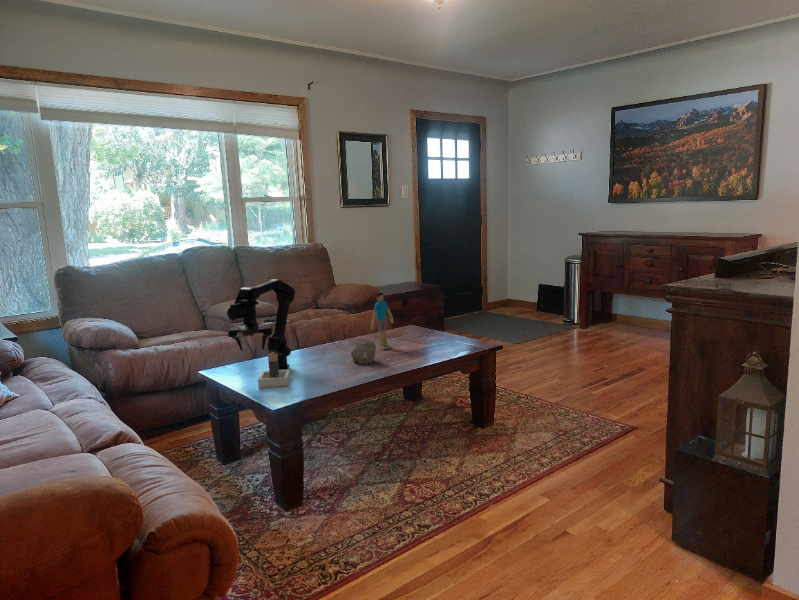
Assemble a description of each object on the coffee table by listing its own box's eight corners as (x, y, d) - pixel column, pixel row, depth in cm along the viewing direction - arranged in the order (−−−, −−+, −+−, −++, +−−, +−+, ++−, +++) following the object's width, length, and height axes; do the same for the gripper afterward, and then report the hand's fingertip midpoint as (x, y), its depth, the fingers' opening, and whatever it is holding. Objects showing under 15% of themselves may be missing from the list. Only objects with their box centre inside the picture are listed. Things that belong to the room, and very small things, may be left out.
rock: (346, 353, 257) (348, 343, 264) (353, 370, 261) (355, 360, 268) (373, 347, 254) (375, 337, 261) (380, 364, 259) (381, 355, 266)
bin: (263, 379, 241) (262, 371, 240) (290, 378, 242) (289, 369, 241) (258, 388, 229) (257, 379, 228) (287, 386, 230) (286, 377, 229)
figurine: (377, 352, 279) (374, 295, 274) (368, 350, 284) (366, 294, 279) (399, 346, 290) (397, 291, 285) (391, 344, 295) (389, 290, 290)
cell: (274, 379, 238) (272, 350, 236) (281, 380, 236) (279, 351, 234) (268, 382, 234) (265, 353, 232) (274, 383, 232) (272, 354, 230)
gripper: (223, 320, 230) (227, 356, 232) (268, 318, 231) (271, 353, 234) (229, 315, 241) (232, 349, 243) (272, 313, 242) (274, 347, 245)
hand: (252, 350), depth 241 cm, fingers open, 9 cm apart
